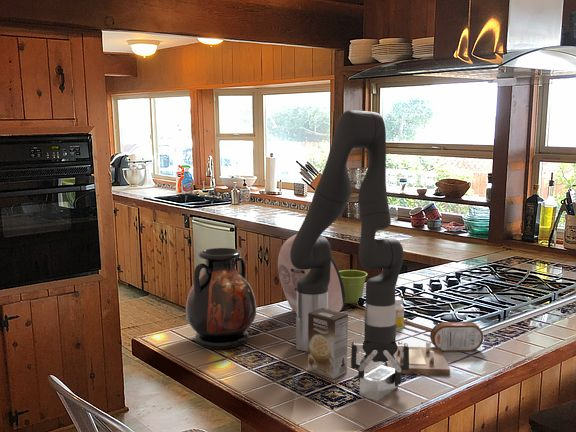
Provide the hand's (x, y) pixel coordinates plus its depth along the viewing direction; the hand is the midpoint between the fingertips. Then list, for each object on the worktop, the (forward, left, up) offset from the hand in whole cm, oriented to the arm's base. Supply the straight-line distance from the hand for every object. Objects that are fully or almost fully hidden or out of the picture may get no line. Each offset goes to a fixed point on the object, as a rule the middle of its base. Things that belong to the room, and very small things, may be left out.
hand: (379, 384), depth 144 cm
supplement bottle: (+8, +49, -2) cm, 50 cm away
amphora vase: (-46, +32, -2) cm, 56 cm away
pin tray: (+11, +19, -2) cm, 22 cm away
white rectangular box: (0, 0, -2) cm, 2 cm away
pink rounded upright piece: (-20, +57, -2) cm, 61 cm away
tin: (+24, +29, -2) cm, 38 cm away
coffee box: (-13, +11, -2) cm, 17 cm away
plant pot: (-6, +76, -2) cm, 76 cm away
